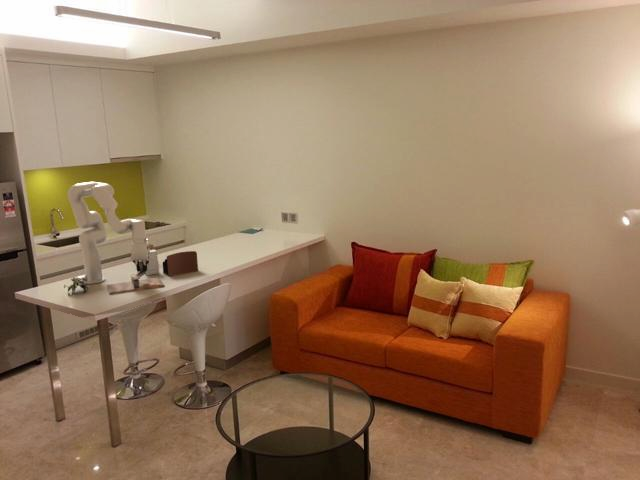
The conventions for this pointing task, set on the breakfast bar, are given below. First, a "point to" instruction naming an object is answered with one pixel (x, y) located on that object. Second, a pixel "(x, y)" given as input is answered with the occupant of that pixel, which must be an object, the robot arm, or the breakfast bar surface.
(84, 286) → the passion flower
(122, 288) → the jamb plate
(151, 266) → the skincare box
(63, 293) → the breakfast bar surface
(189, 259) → the letter holder
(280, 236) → the breakfast bar surface
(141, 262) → the crank handle
